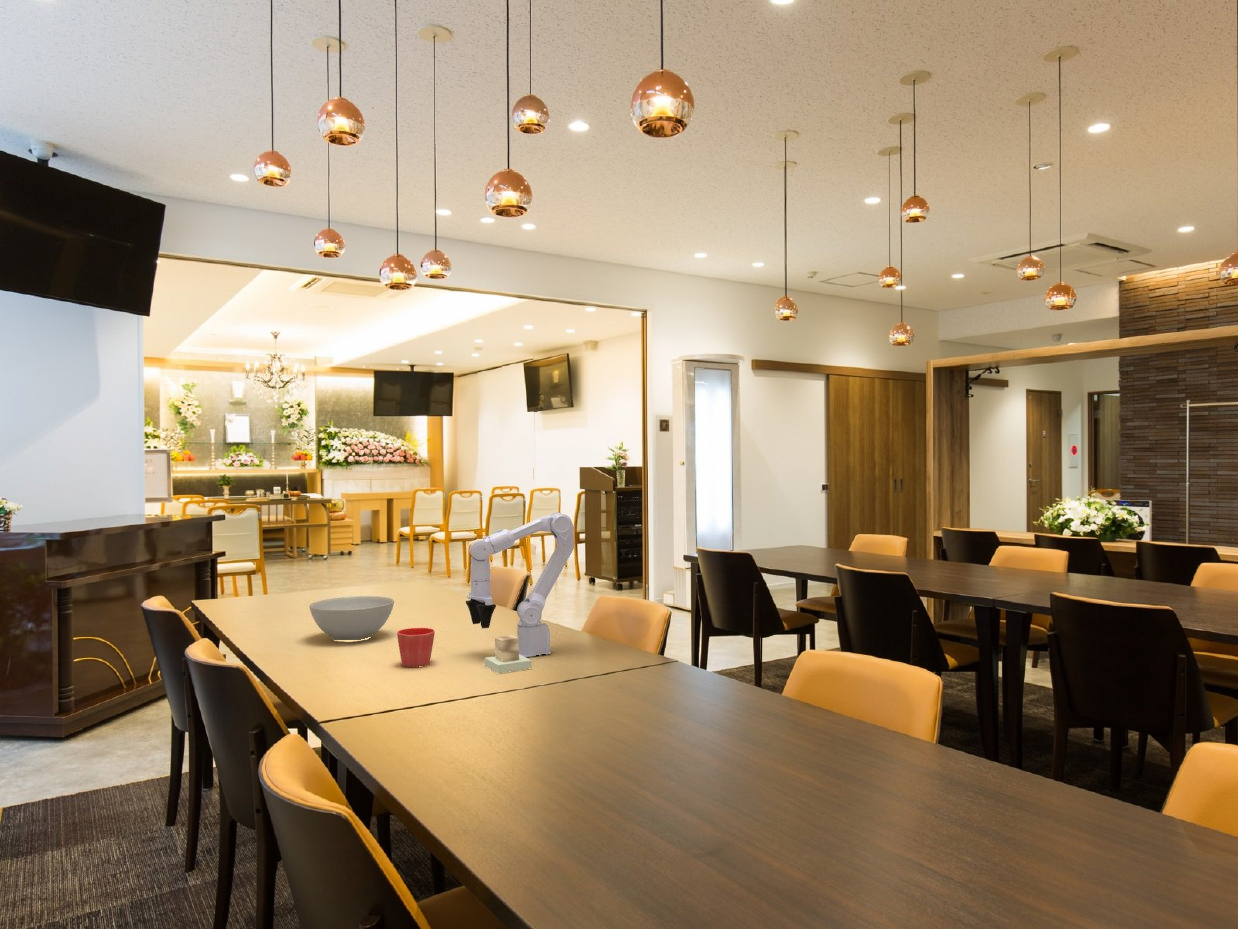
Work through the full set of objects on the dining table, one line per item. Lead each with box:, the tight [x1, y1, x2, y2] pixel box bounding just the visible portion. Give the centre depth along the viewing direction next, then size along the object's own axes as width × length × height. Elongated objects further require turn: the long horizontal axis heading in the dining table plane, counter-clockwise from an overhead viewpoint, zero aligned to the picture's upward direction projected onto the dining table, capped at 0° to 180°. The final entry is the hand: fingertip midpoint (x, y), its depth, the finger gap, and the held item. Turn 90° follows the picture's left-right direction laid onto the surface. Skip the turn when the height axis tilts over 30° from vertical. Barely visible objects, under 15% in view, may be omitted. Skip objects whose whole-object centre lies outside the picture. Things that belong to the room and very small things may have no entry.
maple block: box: [494, 634, 519, 662], centre depth 230 cm, size 5×5×6 cm
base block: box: [484, 655, 532, 674], centre depth 230 cm, size 10×10×3 cm
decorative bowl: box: [309, 595, 395, 640], centre depth 271 cm, size 27×27×12 cm
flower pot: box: [396, 627, 435, 668], centre depth 235 cm, size 11×11×10 cm
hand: (480, 625), depth 243 cm, fingers open, 7 cm apart
